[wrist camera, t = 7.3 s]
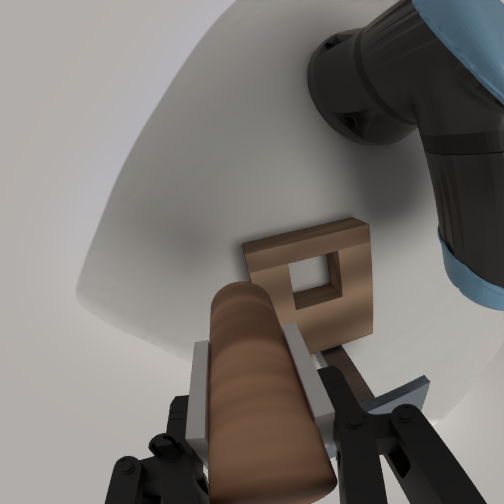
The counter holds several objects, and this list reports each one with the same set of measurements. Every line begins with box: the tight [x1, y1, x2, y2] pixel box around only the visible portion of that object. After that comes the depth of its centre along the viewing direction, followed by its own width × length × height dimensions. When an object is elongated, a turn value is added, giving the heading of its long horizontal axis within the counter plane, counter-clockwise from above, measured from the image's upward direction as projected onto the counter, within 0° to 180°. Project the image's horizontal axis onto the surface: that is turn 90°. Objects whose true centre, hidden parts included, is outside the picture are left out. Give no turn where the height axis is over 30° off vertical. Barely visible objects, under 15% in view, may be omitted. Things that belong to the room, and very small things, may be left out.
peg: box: [208, 282, 338, 504], centre depth 13 cm, size 4×4×14 cm
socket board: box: [242, 218, 373, 354], centre depth 33 cm, size 15×14×4 cm
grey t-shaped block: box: [315, 345, 430, 459], centre depth 29 cm, size 7×12×17 cm, turn 102°
